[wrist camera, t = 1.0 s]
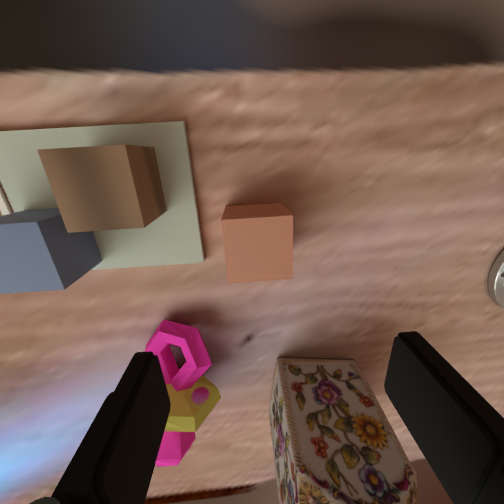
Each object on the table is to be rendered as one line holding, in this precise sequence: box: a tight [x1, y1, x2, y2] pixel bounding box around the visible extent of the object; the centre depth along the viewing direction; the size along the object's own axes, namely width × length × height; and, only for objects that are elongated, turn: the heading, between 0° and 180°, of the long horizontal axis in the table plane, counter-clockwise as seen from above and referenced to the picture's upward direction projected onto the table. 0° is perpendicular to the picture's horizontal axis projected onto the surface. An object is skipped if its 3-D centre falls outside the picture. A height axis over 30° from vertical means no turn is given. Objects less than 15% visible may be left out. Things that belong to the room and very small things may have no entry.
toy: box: [145, 320, 221, 467], centre depth 29 cm, size 10×18×10 cm, turn 173°
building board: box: [0, 121, 205, 270], centre depth 24 cm, size 18×14×1 cm
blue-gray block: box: [0, 208, 102, 294], centre depth 22 cm, size 6×6×6 cm
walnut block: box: [37, 144, 167, 233], centre depth 20 cm, size 6×6×6 cm
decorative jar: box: [269, 358, 419, 504], centre depth 28 cm, size 12×12×18 cm
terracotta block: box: [221, 202, 293, 283], centre depth 24 cm, size 6×6×6 cm
